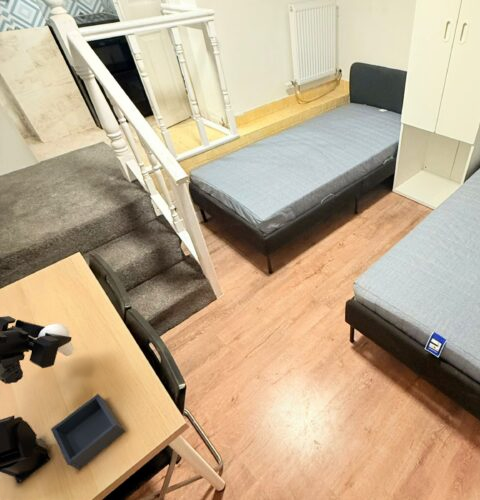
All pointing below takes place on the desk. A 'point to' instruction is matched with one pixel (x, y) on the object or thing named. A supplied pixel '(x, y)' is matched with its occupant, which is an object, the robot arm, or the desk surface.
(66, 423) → the bin
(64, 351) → the lightbulb
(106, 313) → the desk surface
